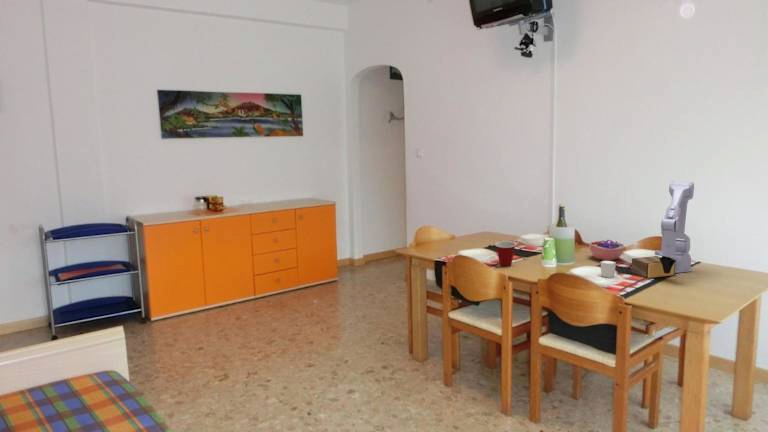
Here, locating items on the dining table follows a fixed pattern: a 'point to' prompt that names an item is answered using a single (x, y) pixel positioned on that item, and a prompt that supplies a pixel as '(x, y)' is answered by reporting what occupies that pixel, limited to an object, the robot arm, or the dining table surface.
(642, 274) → the cabinet
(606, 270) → the white short cylinder
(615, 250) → the cell model
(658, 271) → the cabinet door
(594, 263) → the dining table surface
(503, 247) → the plastic cup
